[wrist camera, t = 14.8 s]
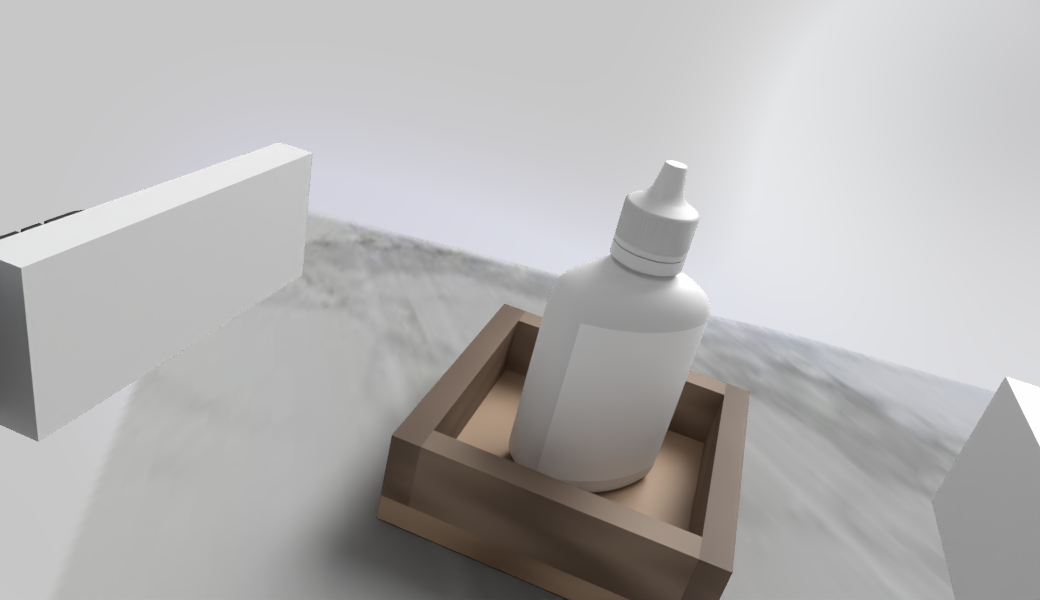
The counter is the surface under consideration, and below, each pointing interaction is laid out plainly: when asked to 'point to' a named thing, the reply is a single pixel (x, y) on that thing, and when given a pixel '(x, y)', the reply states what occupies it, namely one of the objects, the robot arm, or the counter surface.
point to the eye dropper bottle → (615, 348)
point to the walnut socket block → (567, 485)
